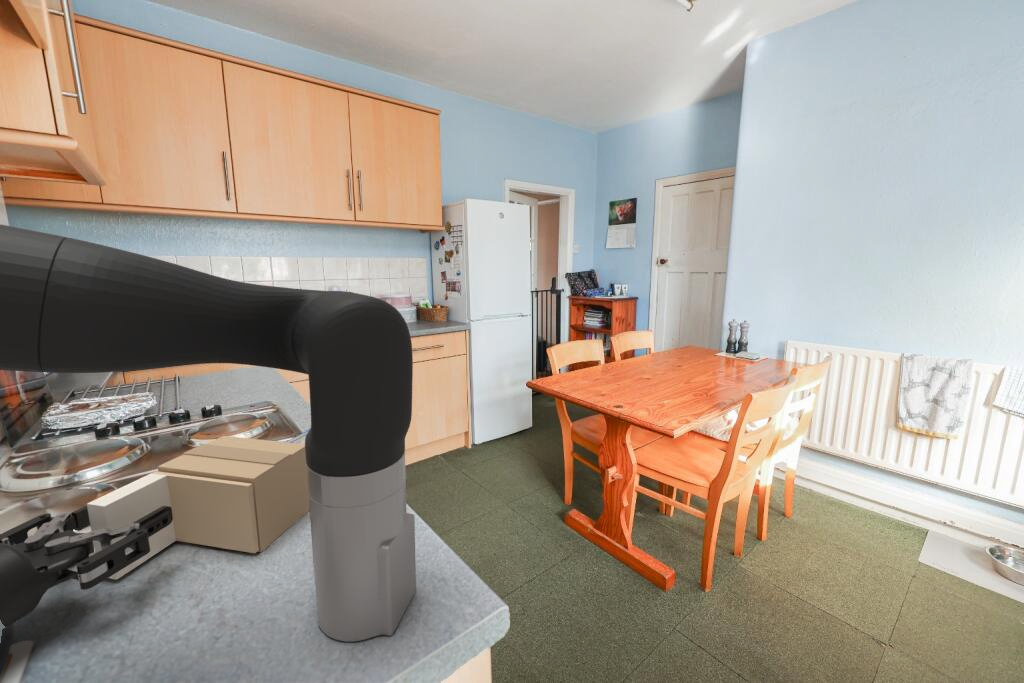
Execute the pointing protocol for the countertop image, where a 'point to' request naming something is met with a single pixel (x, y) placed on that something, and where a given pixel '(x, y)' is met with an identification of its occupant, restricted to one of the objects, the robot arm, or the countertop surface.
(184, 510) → the carton flap
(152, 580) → the countertop surface
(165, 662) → the countertop surface
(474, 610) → the countertop surface
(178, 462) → the kraft carton
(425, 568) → the countertop surface
